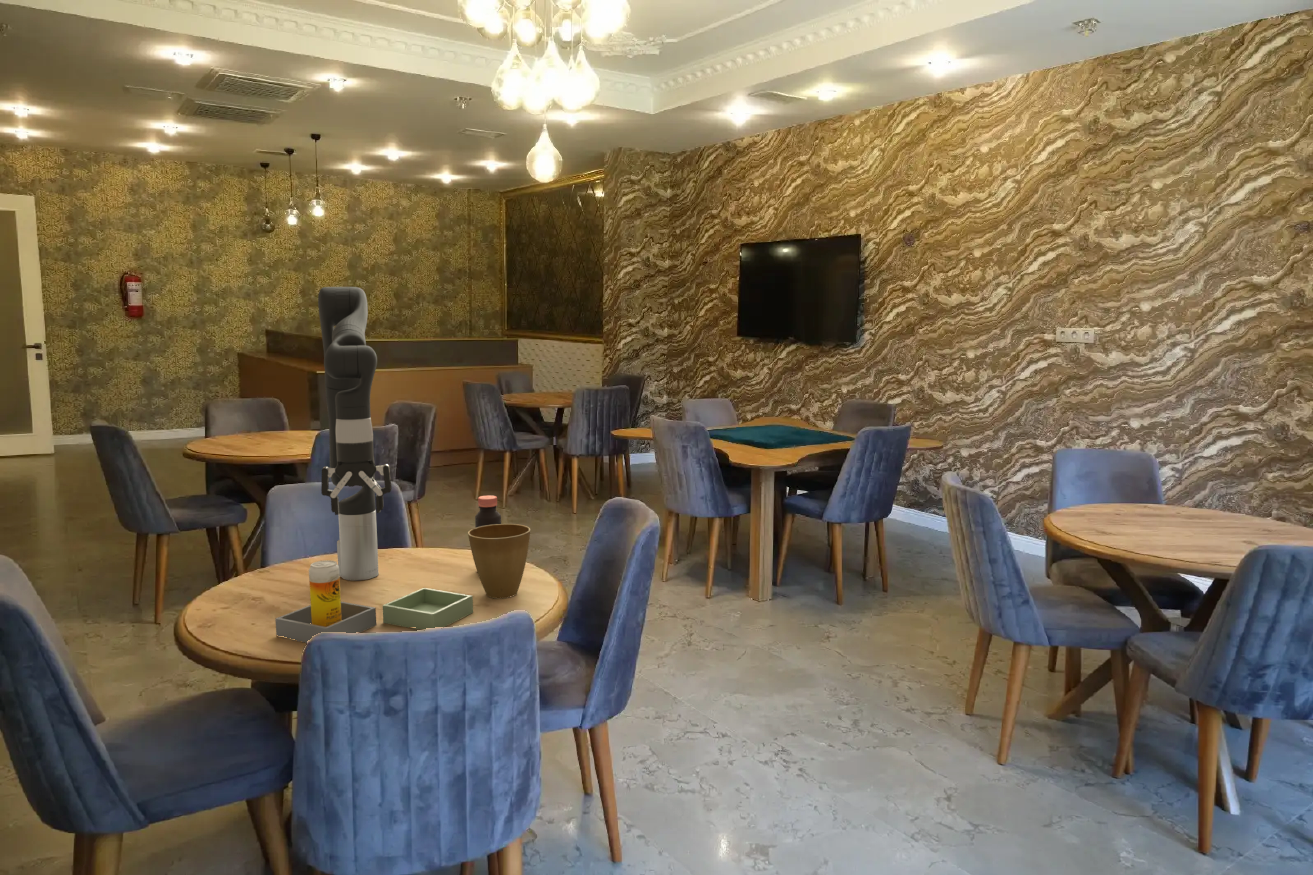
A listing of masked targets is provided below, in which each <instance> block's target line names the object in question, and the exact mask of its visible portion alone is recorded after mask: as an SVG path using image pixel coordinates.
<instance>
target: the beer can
mask: <svg viewBox="0 0 1313 875" xmlns="http://www.w3.org/2000/svg"><path fill="white" fill-rule="evenodd" d="M308 578H309V595H310V596H309V597H310V605H311V618H312V624H313V625H318V626H323V627H328V626H330V625H332V624H335V623H337V622H340V621H342V616H341V602H342V600H341V599H342V598H341V597H342V596H341V582H340V581H341V580H340V579H341V578H340V576H339V566H338V561H335V560H332V559H331V560H328V559H327V560H326V559H325V560H318V561H314V562H312V563H310V567H309V568H308Z"/></svg>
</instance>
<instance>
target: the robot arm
mask: <svg viewBox="0 0 1313 875" xmlns="http://www.w3.org/2000/svg"><path fill="white" fill-rule="evenodd" d="M317 298H318V299H317V300H318V301H317V305H318V315H319V323H320V330H321V338H322V346H323V357H324V359H323V366H324V386H325V388H324V389H325V397H326V399H325V400H326V407H327V408H326V409H327V416H328V433H329V434H328V436H329V439H328V440H329V441H328V442H329V466H323V467H322V468H321V489H320V491H321V495H322V496H324V497H325V496H326V497H329V499H330V509H331V512H332V513H334V515H335V516H338V530H339V532H338V533H339V534H338V535H339V539H338V540H337V541H336V549H337V553H336V555H337V565H338V566H339V577H341V578H342V579H343V580H346V581H364V580H370V579H372V578H375V577H377V576H379V553H378V552H379V551H378V533H377V531H378V530H377V514H380V513H381V511H383V509H384V495H385V494H389V493H391V491H392V481H391V480H392V478H391V472H390V470H391V467H390V464H388V463H384V464H383V465H376V464H375V463H376V462H375V457H374V453H375V452H374V432H373V424H372V418H371V417H372V414H371V413H372V412H371V393H372V392H371V391H372V385H373V381H374V376H375V373H376V370H377V365H378V356H377V354H376V351H375V350H374V349H373V347H371V346H369V345H367V342H366V333H365V332H366V330H367V329H366V328H367V323H368V316H369V310H368V309H369V308H368V299H367V295H366V293H365V291H364V289H362V288H360V287H358V286H325V287H324V286H323V287H321V288H320V289H319V291H318V297H317ZM377 472H378V473H379V474H380V475H381V476H383V484H384V487H381V486H380V485H379V484H378V482H377V481H376V480H375V479H376V478H375V477H376V476H375V474H376V473H377ZM330 479H331V482H332V484H333V485H334V486H335V487H334V488H333V489H329V486H330V484H329V481H330ZM344 487H348V488H349V487H351V488H352V487H361V489H360V490H358V492H356V493H354V494H352V495H349V496H348V497H344V498H343V499H341V500H340V497H339V496H338V495H339V494H340V492H341V490H343V488H344ZM375 494H376V495H375Z"/></svg>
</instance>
